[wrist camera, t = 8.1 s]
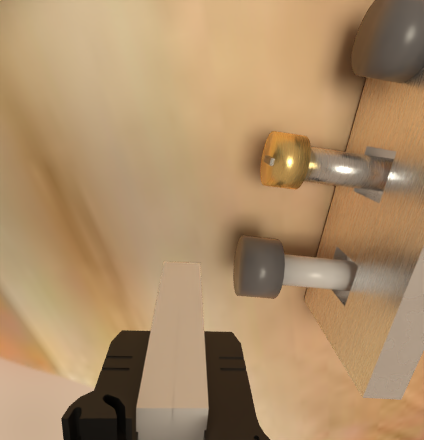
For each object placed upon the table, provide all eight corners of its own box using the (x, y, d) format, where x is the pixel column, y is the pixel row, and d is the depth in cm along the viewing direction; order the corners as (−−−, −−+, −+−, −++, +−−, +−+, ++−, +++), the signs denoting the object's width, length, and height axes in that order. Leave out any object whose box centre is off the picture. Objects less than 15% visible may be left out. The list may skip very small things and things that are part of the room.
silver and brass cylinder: (254, 179, 25) (265, 190, 21) (263, 129, 24) (277, 132, 20) (373, 194, 26) (404, 208, 22) (389, 148, 25) (424, 154, 21)
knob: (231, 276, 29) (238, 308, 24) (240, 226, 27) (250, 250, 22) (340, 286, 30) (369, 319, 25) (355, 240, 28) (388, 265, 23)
